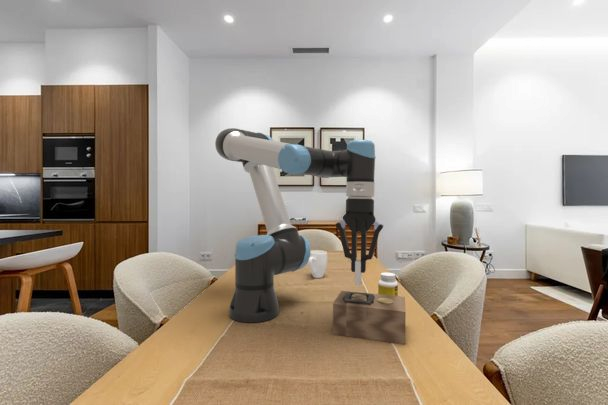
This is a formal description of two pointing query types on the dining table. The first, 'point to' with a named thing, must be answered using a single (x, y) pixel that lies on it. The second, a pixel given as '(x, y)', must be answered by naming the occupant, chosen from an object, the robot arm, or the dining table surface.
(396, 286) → the pill bottle
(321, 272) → the mug
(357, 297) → the oak peg
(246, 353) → the dining table surface
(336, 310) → the socket block
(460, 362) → the dining table surface
